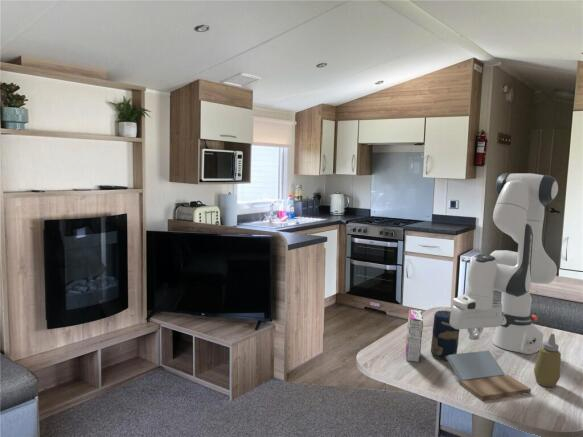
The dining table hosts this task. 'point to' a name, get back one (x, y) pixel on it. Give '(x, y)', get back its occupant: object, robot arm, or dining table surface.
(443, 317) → the canister
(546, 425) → the dining table surface
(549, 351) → the squeeze bottle
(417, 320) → the candy bar box
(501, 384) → the floorboard
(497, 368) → the plank
